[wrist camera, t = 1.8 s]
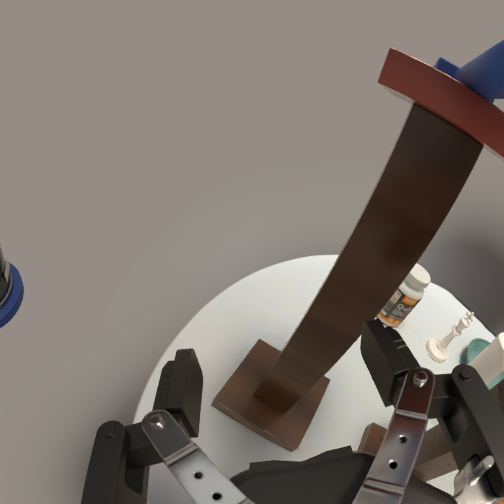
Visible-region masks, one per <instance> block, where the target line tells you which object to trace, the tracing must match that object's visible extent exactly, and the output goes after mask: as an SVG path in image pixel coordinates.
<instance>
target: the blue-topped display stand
mask: <svg viewBox="0 0 504 504" xmlns="http://www.w3.org/2000/svg"><path fill="white" fill-rule="evenodd" d="M489 391H490V392H491V394H492V395H493V397H494V399H495V400H496V402H497V404H498V405H499V407H500V409H501V411H502V412H503V414H504V379H503V380H501V381H500V382H499V383H498V384H496V385H495V386H494V387H492V388H491V389H490V390H489ZM386 431H387V429H386V428H383V427H381V426H379V425H377V424H375V423H372V424H370V425H369V426H367V427H366V430H365V433H364V436H363V438H362V441H361V444H360V447H359V449H358V451H359V452H366V453H370V454H373V455H377V452H378V450H379V448H380V446H381V443H382V441H383V438H384V436H385V434H386ZM456 469H458V468H457V465H456V463H455V460H454V458H453V455H452V453H451V450H450V448H449V445H448V443H447V441H446V438H445V436H444V434H443V431H442V429H441V427H440V425H439V424H438V425H436V426H435V427H433V428H431V429H429V430H428V431H426V432H425V434H424V437H423V441H422V444H421V447H420V450H419V453H418V456H417V459H416V462H415V465H414V468H413V471H412V473H411V475H412V476H414V477H416V478H418V479H420V480H422V481H424V482H425V481H428V480H431V479H434V478H437V477H439V476H442V475H444V474H447V473H449V472H452V471H454V470H456Z"/></svg>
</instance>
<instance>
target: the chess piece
mask: <svg viewBox="0 0 504 504" xmlns="http://www.w3.org/2000/svg"><path fill="white" fill-rule="evenodd" d="M466 315H467V316H468V317H467V318H466V317H461V319H460V321H459V323H458V325H457V326H455V325H454V326H453V327H452V332H451V333H450V334H449V335H447V336H446V337H445V338H443V339H442V340H440V339H438V338H431V339H430V340H428V341H427V344H426V348H427V351H428V353H429V355H430V356H431V358H432V359H434V360H435V361H437V362H443V361H445V359H446V358H447V356H448V350H447V346H448V344H449V343H450V342H451V341H452V339H453V338H454V337H455V336H460V335H461V330H463V329H465V328H467V327H469V325H470V323H469V321H468V320H469V319H470V320H471V322H472V321H473V320H474V318H473V317H472V316H473V315H474V313H473V312H472V313H471V314H470V313H469V312H467V313H466Z"/></svg>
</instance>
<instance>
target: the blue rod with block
mask: <svg viewBox="0 0 504 504" xmlns="http://www.w3.org/2000/svg"><path fill="white" fill-rule="evenodd" d="M434 68H436V69H438V70H440V71H441V72H443V73H445V74H447V75H448V76H450V77H452V78H454V79H455V80H457V81H459V82H460V83H462V84H464V85H465V86H467V87H468V88H470V89H472V90H473V91H475V92H476V93H478V94H479V95H481V96H482V97H484V98H485V99H487V100H488V101H489V102H491V103H492V104H493V102H494V99H504V40H503V41H501V42H500V43H498V44H496V45H495V46H493V47H492V48H490V49H489V50H487V51H486V52H484V53H483V54H481V55H479V56H478V57H477V58H475V59H473V60H472V61H471V62H469V63H467V64H466V65H465V66H463V67H461V68H460V67H458V66H456V65H454V64H453V63H451V62H449V61H447V60H445V59H443V58H442V57H440V58H439V60H438V61H437V62H436V64H435V65H434Z"/></svg>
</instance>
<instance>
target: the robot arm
mask: <svg viewBox="0 0 504 504" xmlns="http://www.w3.org/2000/svg"><path fill="white" fill-rule="evenodd" d="M9 268H10V265H9V262H8V259H7V262H6V261H5V258H4V255H3V252H2V249H1V245H0V310H1V309H2V308H3V307H4V306H5V304H6V303H7V301H8V300H9V298H10V296H11V294H12V290H13V279H12V276H11V273H10V271H9ZM360 348H361V354H362V357H363V360H364V362H365V364H366V366H367V368H368V370H369V372H370V374H371V377H372V379H373V381H374V383H375V385H376V387H377V390H378V392H379V394H380V396H381V398H382V401H383V403H384V405H385V407H387V406H390V405H393V406H394V408H395V410H394V413H393V415H392V418H391V421H390V423H389V426H388V429H387V431H386V434H385V436H384V438H383V441H382V443H381V446H380V448H379V450H378V452H377V455H373V454H370V453H366V452H359V451H352V448H351V446H347V447H343V448H339V449H334V450H330V451H326V452H324V453H321V454H319V455H317V456H315V457H312V458H310V459H307V460H305V461H302V462H295V461H279V460H272V461H264V462H254V463H250V469H248V470H245V471H243V472H240V473H238V474H237V475H235V476H233V477H232V478H231V479H228V478H227V477H226V476H225V475H224V474H223V473H222V472H221V471H220V470H219V469H218V468H217V466H216V465H215V464H214V463H213V462H212V461H211V460H210V459H209V458H208V457H207V456H206V454H205V453H204V452H203V451H202V450H201V449H200V448H199V447H198V446H197V445H196V444H194V443H193V441H192V440H191V437H198V433H199V421H200V410H201V399H202V388H203V375H202V370H201V368H200V365H199V362H198V359H197V357H196V354H195V351H194V349H181V350H177V352H176V356H175V361H168V362H167V363H166V365H165V366H164V367H163V369H162V372H161V376H160V380H159V386H158V388H157V393H156V397H155V401H154V406H153V410H152V411H151V412H149V413H148V414H147V415H146V416H145V417H144V418H143V420H142V422H140V423H136V424H132V425H129V426H123V425H122V424H121V423H120V422H118V421H108V422H105V423H104V424H102V425H101V426H100V427H99V429H98V431H97V434H96V438H95V442H94V446H93V450H92V454H91V458H90V462H89V467H88V471H87V476H86V481H85V485H84V490H83V496H82V501H81V504H146V503H147V490H148V478H149V468H150V465H153V464H157V463H161V462H164V463H165V465H166V466H167V468H168V469H169V470H170V472H171V473H172V474H173V476H174V477H175V478H176V480H177V481H178V482H179V484H180V485H181V486H182V487H183V489H184V490H185V491H186V493H187V494H188V495H189V496H190V497H191V499H192V500H193V501H194V502H195V503H196V504H499V503H500V502H501V501H503V500H504V414H503V412H502V411H501V409H500V407H499V405H498V404H497V402H496V400H495V399H494V397H493V395H492V394H491V392H490V391H489V389H488V387H487V386H486V384H485V383H484V381H483V379H482V378H481V376H480V375H479V373H478V372H477V370H476V369H475V368H474V367H472V366H470V365H467V364H461V365H458V366H456V367H455V368H454V369H453V371H452V373H451V374H439V375H435V374H433V372H432V371H430V370H429V369H427V368H423V367H421V366H420V365H419V363H418V362H417V360H416V359H415V357H414V356H413V354H412V352H411V351H410V349H409V348H408V346H407V345H406V343H405V342H404V341H403V339H402V337H401V336H400V334H399V333H398V332H397V331H396V330H394V329H393V328H391V327H386V328H385V327H384V326H383V324H382V322H381V321H380V320H379V319H374V320H370V321H366V322H363V325H362V335H361V346H360ZM432 418H437V420H438V422H439V425H440V427H441V429H442V431H443V434H444V436H445V438H446V441H447V443H448V445H449V448H450V450H451V453H452V455H453V458H454V460H455V463H456V465H457V468H458V470H459V472H458V473H457V475H456V477H455V479H454V489H455V491H454V496H453V497H452V496H451V495H450V494H448V493H446V492H444V491H442V490H440V489H438V488H436V487H434V486H432V485H430V484H428V483H426V482H424V481H422V480H420V479H418V478H416V477H414V476H412V475H411V473H412V471H413V468H414V465H415V462H416V459H417V456H418V453H419V450H420V447H421V444H422V441H423V437H424V434H425V431H426V427H427V423H428V419H432Z"/></svg>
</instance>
